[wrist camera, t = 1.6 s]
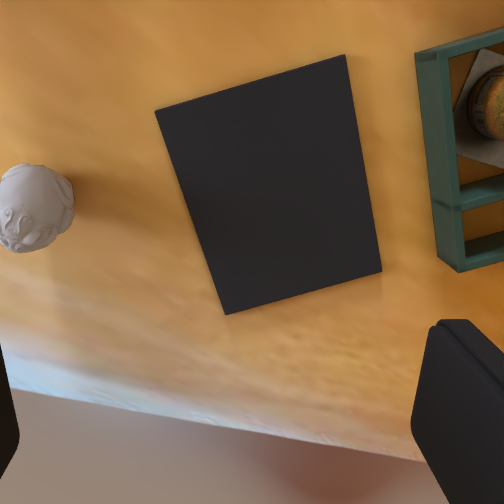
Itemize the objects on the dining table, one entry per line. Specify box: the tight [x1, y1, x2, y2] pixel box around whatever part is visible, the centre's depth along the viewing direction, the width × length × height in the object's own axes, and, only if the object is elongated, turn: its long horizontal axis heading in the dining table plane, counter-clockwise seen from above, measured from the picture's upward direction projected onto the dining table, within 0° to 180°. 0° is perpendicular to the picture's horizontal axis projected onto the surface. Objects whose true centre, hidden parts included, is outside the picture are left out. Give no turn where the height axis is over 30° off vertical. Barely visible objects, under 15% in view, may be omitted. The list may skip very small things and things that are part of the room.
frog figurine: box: [0, 163, 74, 253], centre depth 34 cm, size 6×7×7 cm
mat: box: [155, 54, 382, 315], centre depth 39 cm, size 20×16×1 cm
